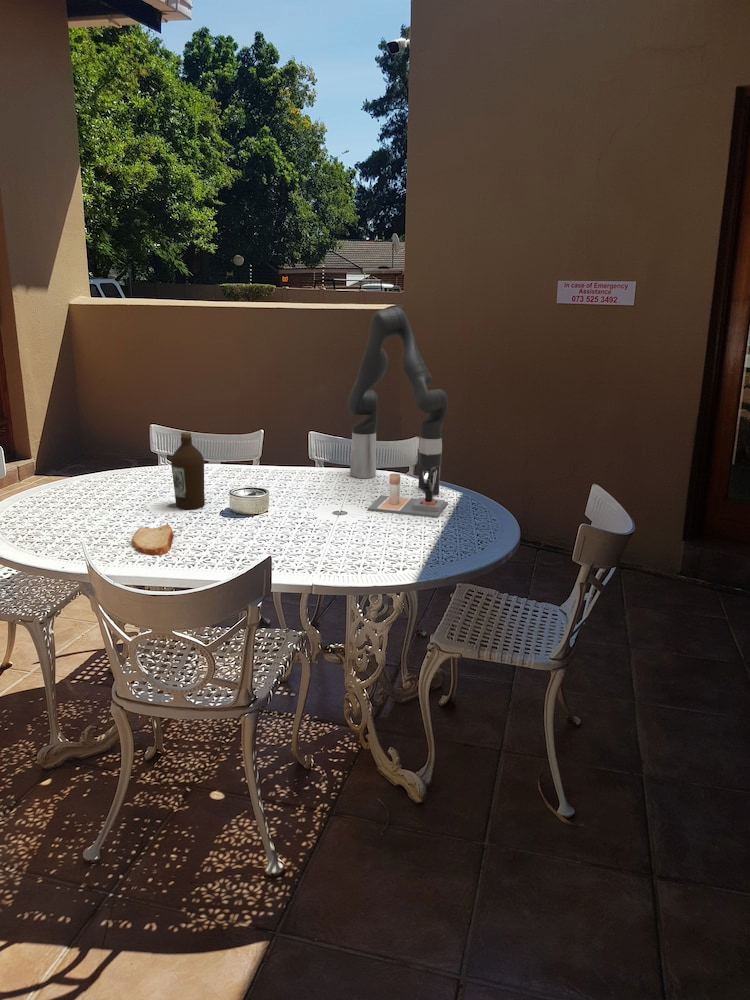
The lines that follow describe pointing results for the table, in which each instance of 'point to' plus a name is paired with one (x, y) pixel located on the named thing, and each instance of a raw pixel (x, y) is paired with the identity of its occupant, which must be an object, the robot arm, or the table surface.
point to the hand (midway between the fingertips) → (428, 501)
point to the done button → (428, 502)
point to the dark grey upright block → (437, 483)
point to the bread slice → (153, 540)
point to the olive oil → (188, 475)
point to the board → (409, 506)
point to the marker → (394, 488)
